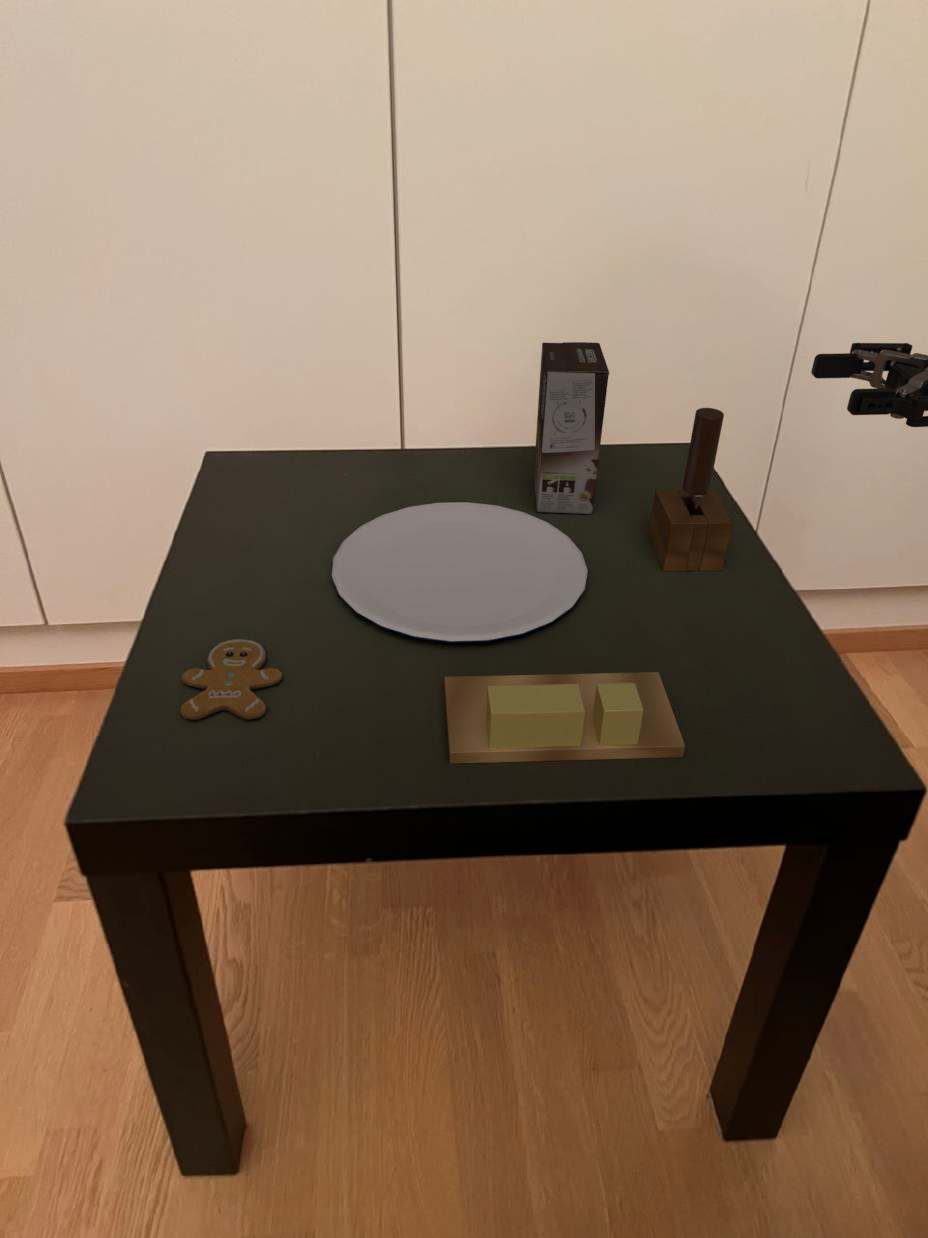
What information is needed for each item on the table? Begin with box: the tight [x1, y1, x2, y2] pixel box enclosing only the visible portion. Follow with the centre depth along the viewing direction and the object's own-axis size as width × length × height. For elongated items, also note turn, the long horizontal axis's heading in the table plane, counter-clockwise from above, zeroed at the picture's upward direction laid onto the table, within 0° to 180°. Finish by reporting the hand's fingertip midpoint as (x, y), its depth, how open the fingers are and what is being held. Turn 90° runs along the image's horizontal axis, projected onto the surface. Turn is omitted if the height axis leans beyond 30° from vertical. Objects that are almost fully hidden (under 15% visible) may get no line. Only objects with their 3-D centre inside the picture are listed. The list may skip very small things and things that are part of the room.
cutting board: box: [443, 671, 686, 765], centre depth 76 cm, size 18×9×1 cm, turn 93°
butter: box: [486, 684, 585, 748], centre depth 72 cm, size 7×3×4 cm, turn 94°
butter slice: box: [592, 683, 644, 745], centre depth 72 cm, size 3×3×4 cm
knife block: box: [647, 488, 733, 572], centre depth 96 cm, size 6×7×6 cm
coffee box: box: [533, 341, 610, 515], centre depth 102 cm, size 9×6×16 cm
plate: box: [331, 501, 588, 644], centre depth 93 cm, size 25×25×1 cm
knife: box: [682, 407, 725, 515], centre depth 93 cm, size 3×3×15 cm
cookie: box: [179, 639, 283, 721], centre depth 79 cm, size 8×1×10 cm
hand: (831, 383), depth 88 cm, fingers open, 8 cm apart
